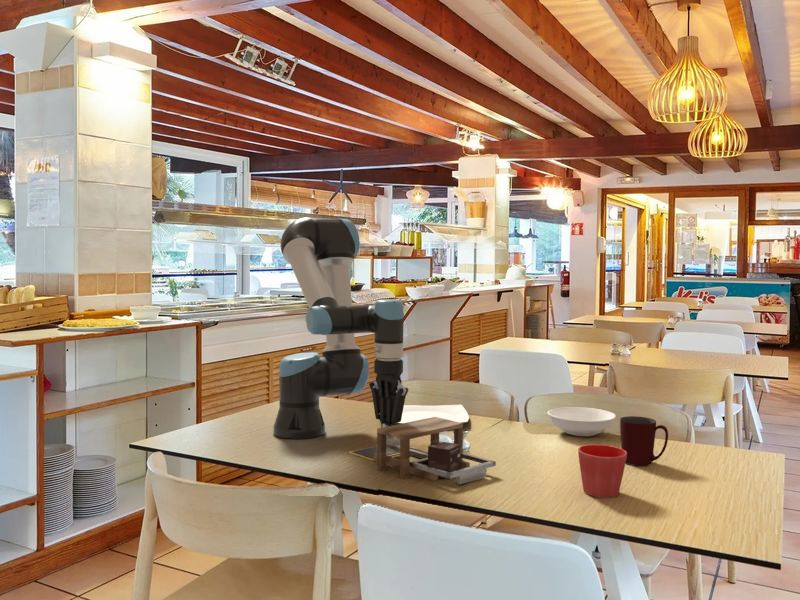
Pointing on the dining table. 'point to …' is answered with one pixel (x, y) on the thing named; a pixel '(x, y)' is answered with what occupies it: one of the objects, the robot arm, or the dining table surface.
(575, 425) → the bowl
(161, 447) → the dining table surface
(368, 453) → the mat
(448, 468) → the box
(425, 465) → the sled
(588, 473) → the flower pot
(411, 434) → the tunnel
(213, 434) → the dining table surface
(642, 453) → the mug
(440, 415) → the plate
